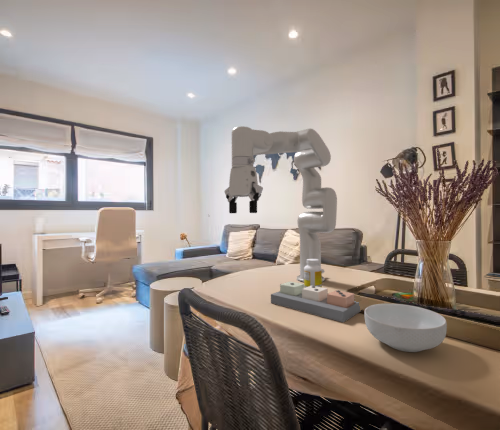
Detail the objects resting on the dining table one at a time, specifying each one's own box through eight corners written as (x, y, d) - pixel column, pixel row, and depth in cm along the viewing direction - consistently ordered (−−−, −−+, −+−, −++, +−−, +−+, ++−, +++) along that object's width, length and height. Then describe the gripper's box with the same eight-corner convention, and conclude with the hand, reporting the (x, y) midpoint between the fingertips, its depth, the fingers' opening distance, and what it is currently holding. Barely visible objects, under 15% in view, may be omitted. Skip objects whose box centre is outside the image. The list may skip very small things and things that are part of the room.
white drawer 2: (311, 297, 97) (311, 284, 97) (327, 300, 92) (327, 287, 92) (302, 301, 92) (302, 288, 92) (318, 304, 88) (318, 291, 88)
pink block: (336, 302, 90) (336, 289, 90) (354, 306, 86) (354, 292, 86) (327, 307, 86) (327, 293, 86) (345, 311, 82) (345, 296, 82)
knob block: (290, 292, 103) (290, 280, 103) (304, 295, 99) (304, 283, 99) (280, 295, 98) (280, 283, 98) (294, 299, 94) (294, 286, 94)
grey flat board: (294, 294, 106) (294, 286, 106) (362, 309, 88) (362, 300, 88) (270, 302, 96) (270, 294, 96) (343, 322, 78) (343, 311, 78)
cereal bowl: (384, 324, 77) (384, 298, 77) (457, 346, 64) (457, 315, 64) (350, 342, 66) (350, 312, 66) (429, 372, 53) (429, 335, 53)
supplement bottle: (322, 291, 111) (322, 258, 111) (321, 295, 104) (320, 261, 104) (305, 289, 113) (305, 257, 113) (303, 294, 107) (302, 260, 107)
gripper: (268, 162, 94) (269, 212, 94) (232, 168, 106) (233, 213, 106) (254, 158, 88) (254, 212, 88) (217, 165, 100) (218, 213, 100)
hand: (242, 213), depth 97 cm, fingers open, 9 cm apart
